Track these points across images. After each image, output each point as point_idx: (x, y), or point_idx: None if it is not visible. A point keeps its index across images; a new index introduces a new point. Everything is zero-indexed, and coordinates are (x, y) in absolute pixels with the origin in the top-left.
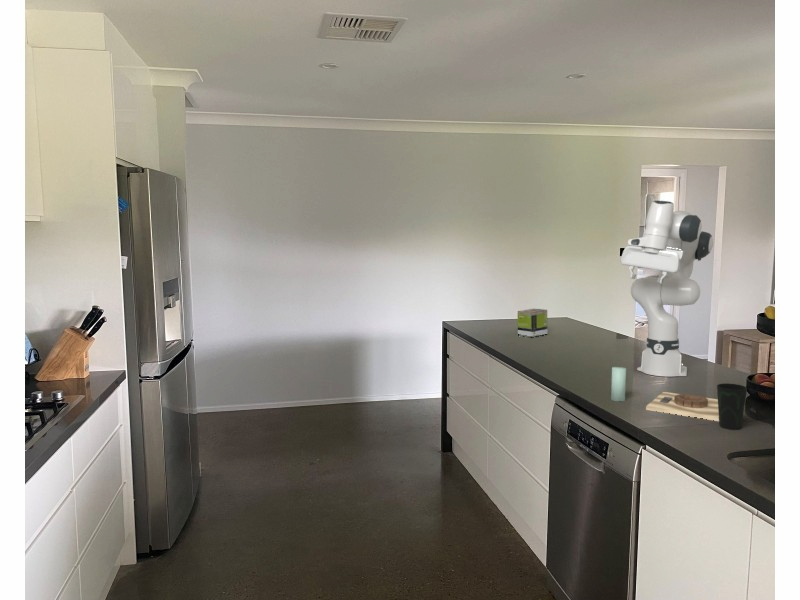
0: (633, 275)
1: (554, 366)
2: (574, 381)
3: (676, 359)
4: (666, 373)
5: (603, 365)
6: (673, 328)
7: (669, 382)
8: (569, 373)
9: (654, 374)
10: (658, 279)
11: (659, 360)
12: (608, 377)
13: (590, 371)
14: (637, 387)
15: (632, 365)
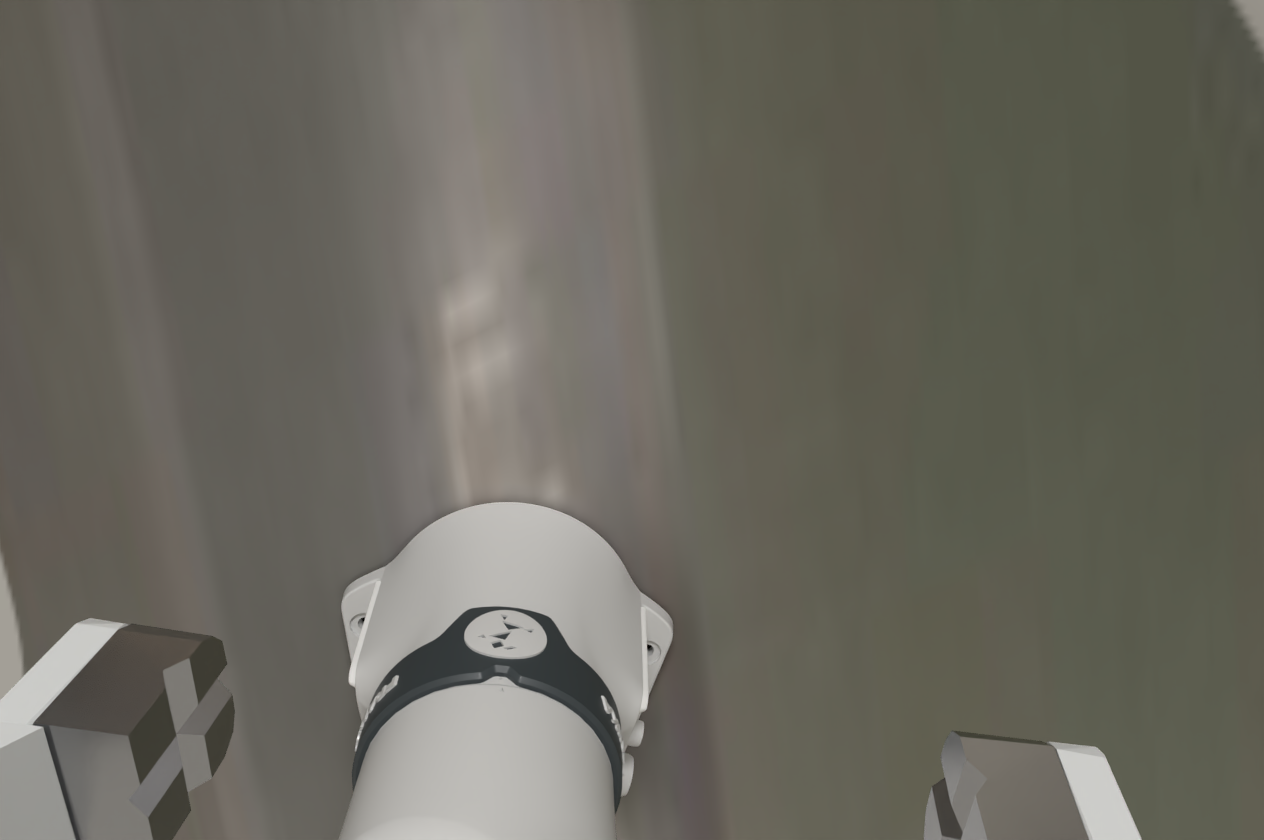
0: (1032, 815)
1: (1241, 492)
2: (1073, 59)
3: (384, 630)
4: (458, 525)
5: (904, 669)
6: (360, 809)
7: (415, 361)
8: (1124, 316)
9: (539, 510)
10: (123, 696)
11: (503, 577)
12: (837, 318)
13: (978, 450)
14: (600, 86)
15: (719, 749)
